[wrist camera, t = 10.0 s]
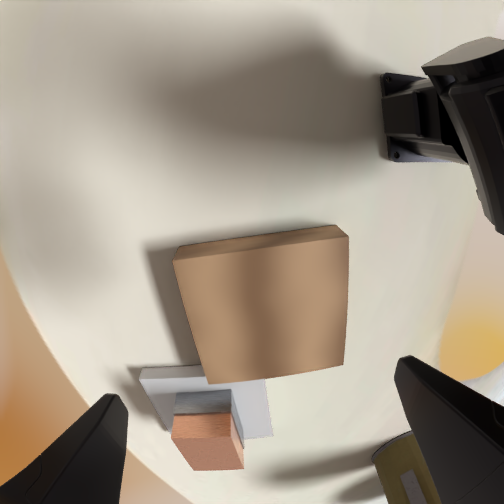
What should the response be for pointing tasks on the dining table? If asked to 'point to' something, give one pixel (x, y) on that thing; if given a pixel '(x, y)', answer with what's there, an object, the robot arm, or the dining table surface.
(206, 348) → the walnut plinth
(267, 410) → the ceramic tile
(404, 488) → the canister
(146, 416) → the dining table surface
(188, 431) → the housing
